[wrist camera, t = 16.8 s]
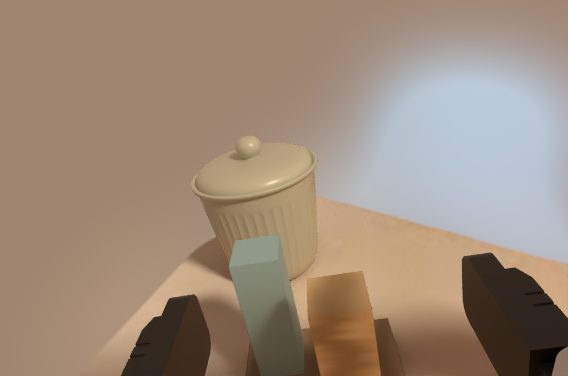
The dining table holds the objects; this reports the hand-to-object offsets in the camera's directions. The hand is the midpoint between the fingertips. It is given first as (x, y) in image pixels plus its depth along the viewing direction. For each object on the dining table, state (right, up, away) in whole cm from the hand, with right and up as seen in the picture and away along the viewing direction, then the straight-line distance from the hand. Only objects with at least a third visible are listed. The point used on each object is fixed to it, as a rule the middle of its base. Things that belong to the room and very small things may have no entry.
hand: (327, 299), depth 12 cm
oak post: (+5, -17, +24) cm, 30 cm away
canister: (-2, -9, +52) cm, 53 cm away
